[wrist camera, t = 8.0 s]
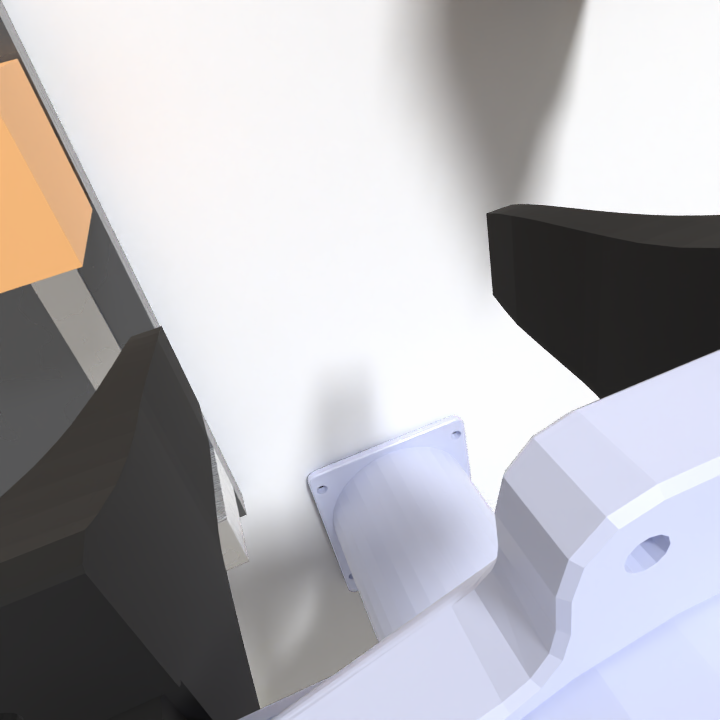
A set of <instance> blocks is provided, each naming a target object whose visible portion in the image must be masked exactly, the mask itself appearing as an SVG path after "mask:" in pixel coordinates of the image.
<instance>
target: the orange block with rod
mask: <svg viewBox="0 0 720 720" xmlns="http://www.w3.org/2000/svg"><path fill="white" fill-rule="evenodd" d="M91 214H92V207H91V205H90V203H89V201H88V199H87V197H86V195H85V193H84V191H83V189H82V187H81V185H80V183H79V181H78V179H77V177H76V175H75V173H74V171H73V169H72V167H71V165H70V163H69V161H68V159H67V157H66V155H65V153H64V151H63V149H62V147H61V145H60V143H59V141H58V139H57V137H56V135H55V133H54V131H53V129H52V127H51V125H50V123H49V121H48V119H47V117H46V115H45V113H44V111H43V109H42V107H41V105H40V103H39V101H38V99H37V97H36V95H35V93H34V91H33V89H32V87H31V85H30V83H29V81H28V79H27V77H26V75H25V73H24V71H23V69H22V67H21V65H20V63H19V61H18V59H14V60H10V61H7V62H3V63H0V293H3V292H6V291H9V290H12V289H15V288H18V287H21V286H24V285H27V284H30V283H34V282H37V281H40V280H43V279H46V278H49V277H52V276H55V275H58V274H61V273H65V272H68V271H71V270H74V269H77V268H80V267H83V261H84V255H85V249H86V243H87V238H88V232H89V226H90V220H91Z"/></svg>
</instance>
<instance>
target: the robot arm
mask: <svg viewBox="0 0 720 720" xmlns="http://www.w3.org/2000/svg"><path fill="white" fill-rule="evenodd" d="M487 226H488V238H489V251H490V263H491V276H492V288H493V296H494V297H495V298H496V299H497V301H498V302H499V303H500V304H501V306H502V307H503V308H504V310H505V311H506V312H507V313H508V314H509V315H510V317H511V318H512V319H513V320H514V321H515V322H516V324H517V325H518V326H519V327H521V328H522V329H523V330H524V331H525V332H526V333H527V334H528V335H529V336H531V337H532V338H533V339H534V340H535V341H536V342H537V343H538V344H540V345H541V346H542V347H543V348H544V349H545V350H547V351H548V352H549V353H550V354H551V355H552V356H553V357H555V358H556V359H557V360H558V361H559V362H560V363H562V364H563V365H564V366H565V367H566V368H567V369H569V370H570V371H571V372H572V373H573V374H574V375H575V376H577V377H578V378H579V379H580V380H581V381H582V382H583V383H585V384H586V385H587V386H588V387H589V388H590V389H591V390H592V391H593V392H594V393H595V394H596V395H597V396H598V397H599V398H600V400H597V401H595V402H592V403H590V404H588V405H585V406H583V407H580V408H578V409H576V410H573V411H571V412H569V413H568V414H566V415H564V416H563V417H561V418H560V419H558V420H557V421H555V422H554V423H552V424H551V425H549V426H547V427H546V428H544V429H543V430H541V431H540V432H538V433H537V434H535V435H533V436H532V437H531V439H530V440H529V441H528V442H527V444H526V445H525V446H524V447H523V449H522V450H521V451H520V453H519V454H518V455H517V456H516V458H515V459H514V460H513V461H512V463H511V464H510V465H509V467H508V468H507V469H506V471H505V473H504V475H503V479H502V483H501V488H500V492H499V496H498V501H497V505H496V509H495V513H494V512H493V510H492V509H491V507H490V506H489V505H488V503H487V502H486V500H485V499H484V498H483V496H482V495H481V493H480V492H479V491H478V489H477V488H476V486H475V485H474V484H473V482H472V481H471V473H470V466H469V459H468V451H467V444H466V436H465V429H464V423H463V421H462V419H461V418H460V417H459V416H457V415H452V416H449V417H447V418H444V419H442V420H439V421H437V422H434V423H432V424H429V425H427V426H424V427H422V428H419V429H417V430H414V431H412V432H409V433H407V434H405V435H402V436H400V437H397V438H395V439H392V440H390V441H387V442H385V443H382V444H380V445H377V446H375V447H372V448H370V449H367V450H365V451H362V452H360V453H357V454H355V455H352V456H350V457H347V458H345V459H342V460H340V461H338V462H335V463H333V464H330V465H328V466H325V467H323V468H320V469H318V470H315V471H313V472H312V473H311V474H310V475H309V476H308V484H309V487H310V489H311V492H312V495H313V497H314V500H315V502H316V505H317V508H318V510H319V513H320V516H321V518H322V521H323V524H324V526H325V529H326V531H327V534H328V537H329V539H330V542H331V545H332V547H333V550H334V553H335V555H336V558H337V560H338V563H339V566H340V568H341V571H342V574H343V576H344V579H345V582H346V584H347V587H348V589H349V591H352V592H356V591H359V594H360V596H361V599H362V602H363V604H364V607H365V609H366V612H367V614H368V617H369V620H370V622H371V625H372V627H373V630H374V632H375V635H376V638H377V640H378V643H377V644H376V645H374V646H373V647H372V648H370V649H369V650H367V651H366V652H365V653H363V654H362V655H361V656H359V657H358V658H356V659H355V660H354V661H352V662H351V663H349V664H348V665H347V666H345V667H344V668H342V669H341V670H340V671H338V672H337V673H335V674H334V675H333V676H331V677H329V678H326V679H324V680H322V681H320V682H318V683H316V684H313V685H311V686H309V687H307V688H305V689H303V690H300V691H298V692H296V693H294V694H292V695H290V696H288V697H285V698H283V699H281V700H279V701H277V702H275V703H272V704H270V705H268V706H266V707H264V708H262V709H260V706H259V702H258V699H257V695H256V691H255V687H254V683H253V679H252V675H251V672H250V668H249V664H248V660H247V656H246V652H245V648H244V644H243V640H242V636H241V632H240V628H239V624H238V619H237V615H236V611H235V607H234V603H233V599H232V594H231V590H230V586H229V581H228V577H227V572H226V568H225V564H224V559H223V555H222V550H221V544H220V537H219V531H218V521H217V512H216V502H215V492H214V482H213V473H212V464H211V455H210V446H209V440H208V436H207V432H206V428H205V424H204V420H203V416H202V413H201V409H200V405H199V403H198V400H197V398H196V396H195V394H194V392H193V390H192V388H191V386H190V384H189V382H188V380H187V378H186V376H185V374H184V372H183V370H182V367H181V365H180V363H179V361H178V359H177V357H176V355H175V353H174V351H173V349H172V347H171V345H170V343H169V341H168V339H167V337H166V334H165V332H164V330H163V328H162V326H160V327H157V328H154V329H152V330H149V331H146V332H143V333H140V334H137V335H134V336H131V337H130V339H129V340H128V341H127V343H126V344H125V346H124V347H123V349H122V351H121V352H120V354H119V355H118V357H117V359H116V360H115V362H114V364H113V365H112V367H111V368H110V370H109V371H108V373H107V374H106V376H105V378H104V379H103V381H102V382H101V384H100V385H99V387H98V388H97V390H96V391H95V393H94V394H93V396H92V397H91V398H90V400H89V401H88V402H87V404H86V405H85V406H84V408H83V409H82V411H81V412H80V413H79V415H78V416H77V417H76V419H75V420H74V421H73V423H72V424H71V425H70V427H69V428H68V429H67V430H66V431H65V433H64V434H63V435H62V436H61V437H60V439H59V440H58V441H57V442H56V443H55V444H54V445H53V446H52V447H51V449H50V450H49V451H48V452H47V453H46V454H45V455H44V456H43V457H42V458H41V459H40V460H39V461H38V462H37V463H36V464H35V466H34V467H33V468H32V469H30V470H29V471H28V472H27V473H26V474H25V475H24V476H23V477H22V478H21V479H20V480H19V481H17V482H16V483H15V484H14V485H13V486H12V487H11V488H10V489H9V490H8V491H7V492H5V493H4V494H3V495H2V496H1V497H0V720H720V215H705V216H666V215H644V214H628V213H615V212H604V211H594V210H584V209H575V208H565V207H556V206H545V205H530V204H517V205H510V206H507V207H504V208H501V209H498V210H495V211H492V212H489V213H487ZM455 431H456V432H455ZM453 432H455V433H454V434H453ZM320 486H324V487H322V488H319V487H320ZM318 488H319V489H318Z"/></svg>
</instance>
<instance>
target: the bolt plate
mask: <svg viewBox="0 0 720 720" xmlns="http://www.w3.org/2000/svg"><path fill="white" fill-rule="evenodd" d="M14 59H18V61H19V63H20V65H21V67H22V69H23V71H24V73H25V75H26V77H27V79H28V81H29V83H30V85H31V87H32V89H33V91H34V93H35V95H36V97H37V99H38V101H39V103H40V105H41V107H42V109H43V111H44V113H45V115H46V117H47V119H48V121H49V123H50V125H51V127H52V129H53V131H54V133H55V135H56V137H57V139H58V141H59V143H60V145H61V147H62V149H63V151H64V153H65V155H66V157H67V159H68V161H69V163H70V165H71V167H72V169H73V171H74V173H75V175H76V177H77V179H78V181H79V183H80V185H81V187H82V189H83V191H84V193H85V195H86V197H87V199H88V201H89V203H90V205H91V207H92V214H91V220H90V226H89V232H88V238H87V243H86V249H85V255H84V261H83V267H80V268H77V269H74V270H71V271H68V272H65V273H61V274H58V275H55V276H52V277H49V278H46V279H43V280H40V281H37V282H34V283H30V284H27V285H24V286H21V287H18V288H15V289H12V290H9V291H6V292H3V293H0V497H1V496H2V495H3V494H4V493H5V492H7V491H8V490H9V489H10V488H11V487H12V486H13V485H14V484H15V483H16V482H17V481H19V480H20V479H21V478H22V477H23V476H24V475H25V474H26V473H27V472H28V471H29V470H30V469H32V468H33V467H34V466H35V464H36V463H37V462H38V461H39V460H40V459H41V458H42V457H43V456H44V455H45V454H46V453H47V452H48V451H49V450H50V449H51V447H52V446H53V445H54V444H55V443H56V442H57V441H58V440H59V439H60V437H61V436H62V435H63V434H64V433H65V431H66V430H67V429H68V428H69V427H70V425H71V424H72V423H73V421H74V420H75V419H76V417H77V416H78V415H79V413H80V412H81V411H82V409H83V408H84V406H85V405H86V404H87V402H88V401H89V400H90V398H91V397H92V396H93V394H94V393H95V391H96V390H97V388H98V387H99V385H100V384H101V382H102V381H103V379H104V378H105V376H106V374H107V373H108V371H109V370H110V368H111V367H112V365H113V364H114V362H115V360H116V359H117V357H118V355H119V354H120V352H121V351H122V349H123V347H124V346H125V344H126V343H127V341H128V340H129V339H130V337H131V336H134V335H137V334H140V333H143V332H146V331H149V330H152V329H154V328H157V327H160V326H159V324H158V322H157V320H156V317H155V315H154V313H153V311H152V309H151V307H150V305H149V303H148V301H147V299H146V297H145V295H144V293H143V291H142V289H141V287H140V285H139V283H138V280H137V278H136V276H135V274H134V272H133V270H132V268H131V266H130V264H129V262H128V260H127V258H126V256H125V254H124V252H123V250H122V248H121V246H120V244H119V241H118V239H117V237H116V235H115V233H114V231H113V229H112V227H111V225H110V223H109V221H108V219H107V217H106V215H105V213H104V211H103V209H102V207H101V204H100V202H99V200H98V198H97V196H96V194H95V192H94V190H93V188H92V186H91V184H90V182H89V180H88V178H87V176H86V174H85V172H84V170H83V167H82V165H81V163H80V161H79V159H78V157H77V155H76V153H75V151H74V149H73V147H72V145H71V143H70V141H69V139H68V137H67V135H66V133H65V131H64V128H63V126H62V124H61V122H60V120H59V118H58V116H57V114H56V112H55V110H54V108H53V106H52V104H51V102H50V100H49V98H48V96H47V94H46V91H45V89H44V87H43V85H42V83H41V81H40V79H39V77H38V75H37V73H36V71H35V69H34V67H33V65H32V63H31V61H30V59H29V57H28V54H27V52H26V50H25V48H24V46H23V44H22V42H21V40H20V38H19V36H18V34H17V32H16V30H15V28H14V26H13V24H12V22H11V20H10V18H9V15H8V13H7V11H6V9H5V7H4V5H3V3H2V1H1V0H0V63H3V62H7V61H10V60H14ZM201 413H202V412H201ZM202 416H203V414H202ZM203 420H204V424H205V428H206V432H207V436H208V440H209V446H210V455H211V464H212V473H213V482H214V492H215V502H216V512H217V521H218V531H219V537H220V544H221V550H222V555H223V559H224V564H225V568H226V571H227V570H229V569H232V568H234V567H236V566H239V565H241V564H243V563H246V562H248V561H249V559H248V554H247V549H246V545H245V540H244V535H243V531H242V526H241V521H240V517H242V516H244V515H247V514H246V510H245V505H244V501H243V497H242V494H241V492H240V490H239V488H238V486H237V484H236V482H235V480H234V478H233V476H232V474H231V472H230V469H229V467H228V465H227V463H226V461H225V459H224V457H223V455H222V453H221V451H220V449H219V447H218V445H217V443H216V441H215V439H214V437H213V435H212V433H211V430H210V428H209V426H208V424H207V422H206V420H205V418H204V416H203Z"/></svg>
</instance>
